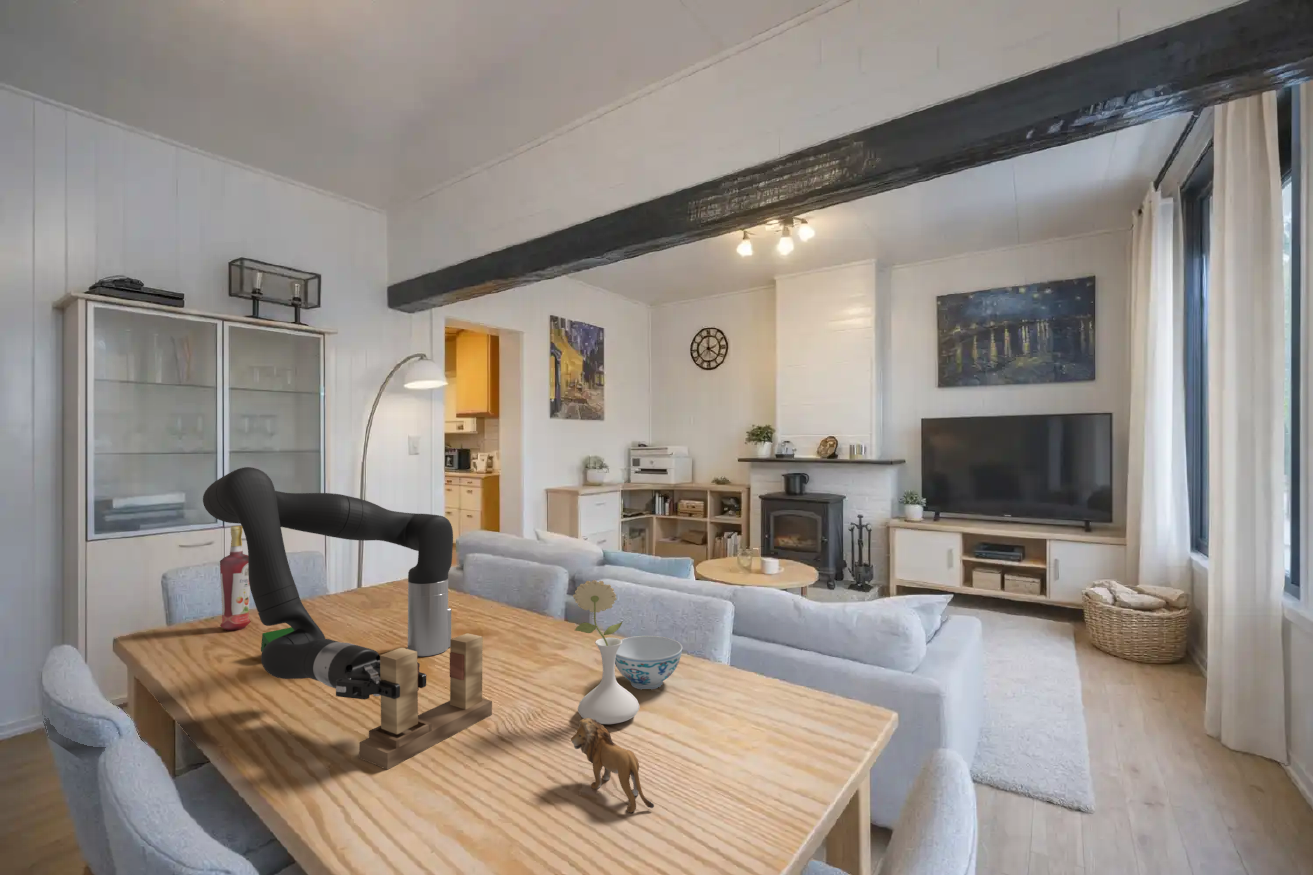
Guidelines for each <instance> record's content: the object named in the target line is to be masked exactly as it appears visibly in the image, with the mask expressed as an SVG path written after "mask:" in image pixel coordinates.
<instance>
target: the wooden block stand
mask: <svg viewBox="0 0 1313 875" xmlns="http://www.w3.org/2000/svg"><path fill="white" fill-rule="evenodd" d="M449 649H450V650H449V651H450V652H449V678H450V679H449V680H450V682H449V683H450V684H449V686H450V687H449V688H450V689H449V691H450V692H449V700H448V701H446V702H444V703H441V704H440V705H438V706H435V707H433V708H431V709H428V710H426V711H424V712H422V713H420V714H418V724H417V725H415V726H413V727H411V728H409V729H407V730H405V731H403V732H401V733H399V734H395V733H392V732H389V731H387V730H384V729H381V725H378V726H376V727H374V728H372V729H370V730H368V737H367V738H365V739H364V740H361V741H359V742H358V744H359V745H358V746H359V749H358V750H359V752H358V753H359V754H358V755H359V756H358V757H359V759H361V760H363V761H366V762H368V763H370V764H373V765H376V766H378V767H380V768H383V769H384V770H389V769H391V768H394V767H395V766H398V765H400V764H401V763H402V762H404V761H407V760H409V759H411V758H412V757H414V756H417V755H418V754H420V753H422V752H424V751H426V750H428V749H429V748H431V747H433V746H435V745H437V744H439V743H441V742H443V741H444V740H446V739H449V738H450V737H452V736H454V735H456V734H458V733H460V732H462V731H464V730H465V729H468V728H469V727H471V726H473V725H474V724H477V723H479V722H481V721H482V720H484V719H486V718H488V717H490V716H491V715H493V700H490V699H486V698H483V635H482V636H481V635H477V634H472V633H467V632H466V633H464V634H461V635H458V636H455V637H453V638H452V637H451V639H450V647H449Z"/></svg>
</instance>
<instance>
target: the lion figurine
mask: <svg viewBox="0 0 1313 875" xmlns="http://www.w3.org/2000/svg"><path fill="white" fill-rule="evenodd" d="M570 741H571V744H572V745H573V746H574V749H575V750H578V749H580V750H581V752H582V753H583V754H585V756H586V759H587V761H588V762H589V763H591V764H592V772H593V776H594V779H595V781H592V783H591V784H590V786H591V789H593V790H597V789H599V788H600V787H601V786H602V780H603V781H609V780H611V775H612V774H611V773H614V774H617V775H618V776H617V777H618V780H619V783H620V786H621V789H622V790H623V792H624V794H625V796H626V797H627V799H628V801H629V804H627V807H626V810H627V812H628V813H633V812H635V811H636V809H637V803H636V797H637V796H638V795H639V796H640V799H641V800H642V801H643V803H644V804H645V806H646V807H647V808H650V809H653V808H654V807H655V804H654V803H653V802H651V801H650V800H649V799H647V798H646V797H645V795H644V793H643V790H642V786H641V781H640V780H641V779H640V776H639V770H640V762H639V759H638V757H637V756H636V754H635V753H634V752H633V750H629V749H626V748H622V747H621V746H619V745H618V744H616V743H615V742H614V741H613V740H612V736H611V733H610V732H609V731H608V729H607V728H605V726H604V724H600V723H599V722H597V721H596V720H593V719H591V718H585V719H584V718H581V719H580V720H579V725H578V728H577V729H576V733H575V734H573V736H572V737H571V738H570ZM602 768H604V773H603V775H602V776H601V771H602V770H603V769H602ZM630 779H631V781H632V783H633V784H632V785H633V788H631V782H630Z"/></svg>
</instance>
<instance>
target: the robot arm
mask: <svg viewBox="0 0 1313 875" xmlns="http://www.w3.org/2000/svg"><path fill="white" fill-rule="evenodd" d="M271 479H272V478H270V477H269V475H268V474H267V473H266V472H264V471H263V470H260V468H257V467H256V468H255V467H248V466H247V467H246V466H244V467H240V468H237V469H234V470H233V471H230V472H229V473H227V474H225V475H223V476H221V477H220V478H218V479H217V480H215V481H214V482H212V483H211V484H210V485H209V486H208V487H207V489H205V491H204V493H203V496H202V504H203V507H204V509H205V510H206V512H208V514H209V515H210V516H212V517H213V518H214V519H216V520H219V521H222V522H224V523H229V524H239V525H240V526H242V531H243V533H244V535H245V539H246V545H247V546H246V547H247V555H248V575H249V585H250V594H251V596H252V599H253V602H254V605H255V608H256V611H257V614H258V617H259V619H260V622H261V623H262V625H264V626H267V627H270V626H271V627H272V626H277V625H280V624H287V625H288V626H290V627H292V628H293V630H294V631H293V632H291V633H288V634H286V635H284V636H282V637H279V638H277V639H274V640H273V641H271V642H269V643H268V644H267V645H266V646H265V648H264V649H263V651H262V652H261V656H260V662H261V665H262V666H263V669H264V670H265V671H266V672H267V673H268V674H269V675H270V676H272V677H274V678H276V679H277V678H278V679H283V680H301V679H303V680H304V679H311V680H314V681H318V682H320V683H322V684H324V685H325V686H327V687H330V688H333V689H335V697H340V698H346V699H355V700H364V701H365V700H368V699H370V696H373V697H381V695H382V696H386V697H389V698H392V699H396V698H399V697H400V685H399V684H396V683H393V682H389V681H386V680H383V681H382V678H380V655H381V654H379V653H378V651H376V650H374V649H373V648H368V647H365V646H361V645H358V644H353V643H350V642H342V641H337V640H333V639H329V638H326V636H325V634H324V632H323V631H322V629H321V628H320V626H318V624H317V623H316V622H315V620H314V619H313V618H312V616H311V615H310V614H309V612H308V611H307V609H306V607H305V606H304V604H303V602H302V600H301V598H300V594H299V591H298V587H297V584H296V582H295V579H294V577H293V574H292V571H291V567H290V564H289V561H288V557H287V552H286V548H285V544H284V538H283V532H282V528H284V529H290V530H294V531H299V532H304V533H310V534H316V535H322V536H325V537H331V538H336V539H342V540H348V541H381V542H386V543H390V544H393V545H397V546H401V547H404V548H407V549H410V550H413V551H416V552H418V553H417V554H418V555H417V563H416V565H415V566H413V567H411V568H409V570H408V575H407V583H408V584H407V593H408V594H407V649H409V650H413V651H417V657H429V656H435V655H438V654H439V655H440V654H441V653H444V652H446V651H447V650H448V649H450V639H452V609H451V607H449V573H450V569H451V566H452V562H453V551H454V549H453V547H454V546H453V545H454V531H453V526H452V523H451V521H450V520H449V519H448V517H447V518H446V517H445V516H443V515H437V514H432V513H430V514H429V513H412V512H403V511H393V510H390V509H386V508H384V507H382V506H381V505H378V504H376V503H374V502H371V501H369V500H367V499H366V500H365V499H362V498H359V497H355V496H350V495H345V494H339V493H333V492H332V493H331V492H306V493H305V492H297V493H296V492H283V491H279V490H278V491H277V490H275V485H274V482H273V481H272V480H271ZM417 664H418V687H419V689H423V688H426V686H427V674H426V673H424V672H420V665H421V664H420V663H419V661H417Z"/></svg>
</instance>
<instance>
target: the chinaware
mask: <svg viewBox="0 0 1313 875" xmlns="http://www.w3.org/2000/svg"><path fill="white" fill-rule="evenodd" d="M620 640H622V644H621V645H620V646H619V648H618V651H617V654H616V659H615V668H617V670H618V671H619V673H620V674H621V675H622V676H623V677H624V678H625V679H626V680H628V681H629V682H630V684H631V687H633V688H635V689H638V690H642V689H651V690H656V689H658V687H659V688H661V687H662V686H663V684H664V683H663V682H664V681H665V680H666V679H668V678H670V676H671V675H673V673H674V672H675V671H676V669H677V668H678V665H679V663H680V660H681V658H682V652H683V645H682V644H681V642H679V641H677V640H675V639H674V638H673V639H672V638H669V637H667V636H666V637H664V636H658V635H639V636H638V635H637V636H636V635H635V636H629V637H625V638H622V639H620ZM661 685H662V686H661Z"/></svg>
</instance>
